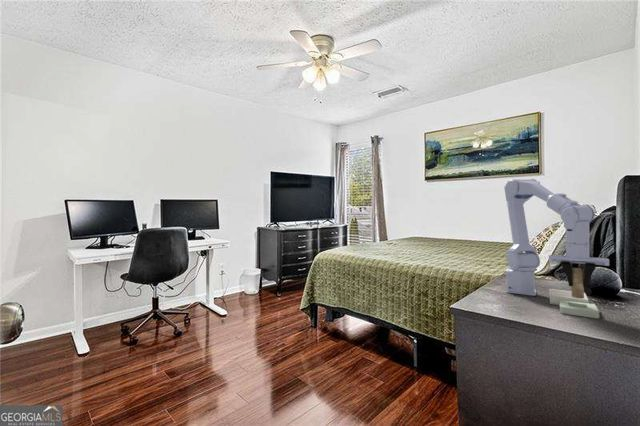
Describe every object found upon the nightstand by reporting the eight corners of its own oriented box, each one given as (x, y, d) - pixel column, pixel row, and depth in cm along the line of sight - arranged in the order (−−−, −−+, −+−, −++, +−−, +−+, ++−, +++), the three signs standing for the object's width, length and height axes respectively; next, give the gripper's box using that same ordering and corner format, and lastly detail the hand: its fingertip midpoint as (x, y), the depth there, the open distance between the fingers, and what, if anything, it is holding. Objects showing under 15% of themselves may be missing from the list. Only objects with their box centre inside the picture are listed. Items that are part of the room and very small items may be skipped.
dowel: (571, 297, 97) (571, 269, 97) (571, 295, 99) (571, 267, 99) (584, 299, 95) (584, 270, 95) (583, 296, 98) (583, 268, 97)
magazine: (578, 290, 115) (579, 252, 120) (580, 298, 124) (580, 262, 129) (591, 292, 113) (591, 253, 117) (592, 300, 122) (593, 263, 126)
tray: (549, 303, 105) (549, 295, 105) (549, 296, 114) (549, 288, 114) (588, 309, 100) (588, 299, 100) (584, 301, 108) (584, 292, 108)
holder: (560, 313, 96) (560, 306, 96) (559, 305, 104) (559, 299, 104) (599, 318, 91) (599, 311, 91) (594, 310, 98) (594, 304, 98)
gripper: (548, 243, 98) (549, 285, 98) (611, 246, 90) (611, 292, 90) (548, 241, 104) (548, 281, 104) (606, 243, 95) (607, 287, 95)
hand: (577, 286), depth 97 cm, fingers closed on dowel, 3 cm apart
